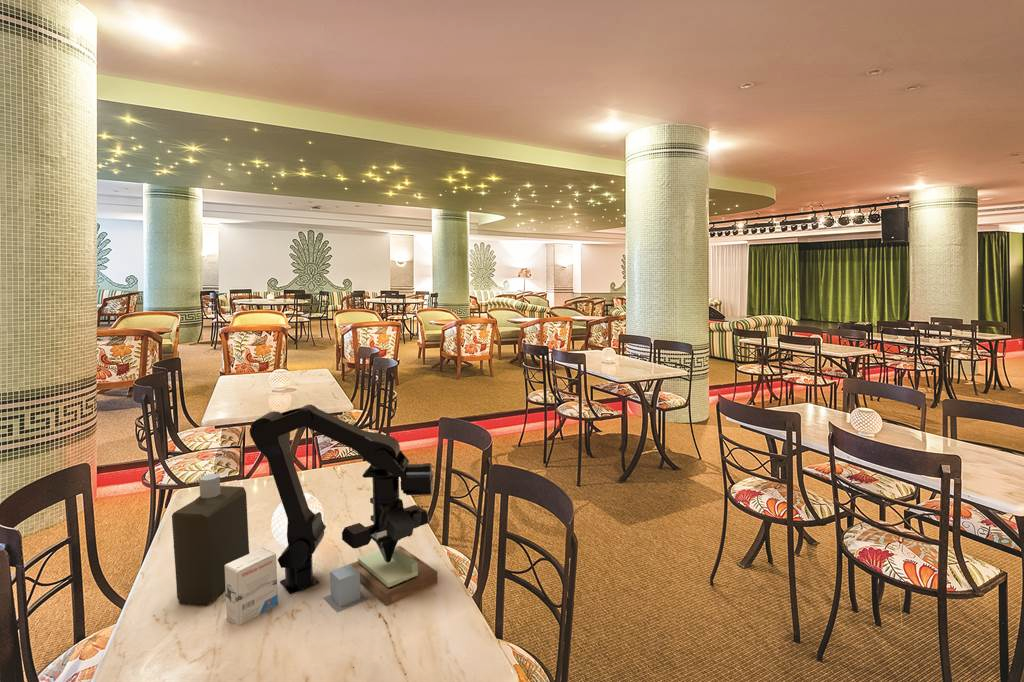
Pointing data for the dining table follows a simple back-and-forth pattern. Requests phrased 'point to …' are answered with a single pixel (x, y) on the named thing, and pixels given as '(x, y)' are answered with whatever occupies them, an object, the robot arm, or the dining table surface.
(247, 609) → the ink box
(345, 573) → the block
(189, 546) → the bottle
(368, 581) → the brown hollow rectangular piece
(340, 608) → the mat
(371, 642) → the dining table surface
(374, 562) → the cover
